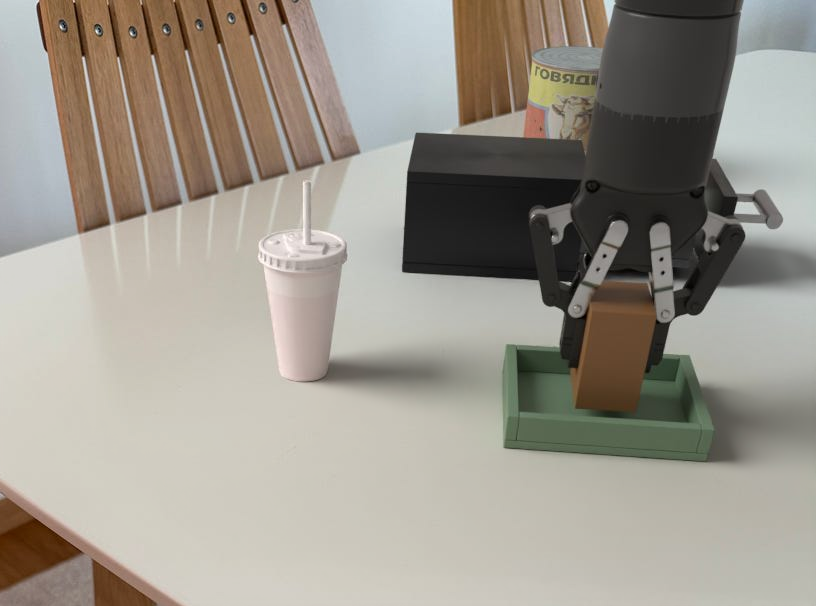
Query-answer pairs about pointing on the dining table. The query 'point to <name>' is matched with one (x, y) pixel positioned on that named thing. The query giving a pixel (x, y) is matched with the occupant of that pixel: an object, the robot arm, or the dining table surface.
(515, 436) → the tray
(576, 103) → the canned food
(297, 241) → the smoothie
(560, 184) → the black box
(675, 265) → the pull-out drawer box
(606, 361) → the block
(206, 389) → the dining table surface
